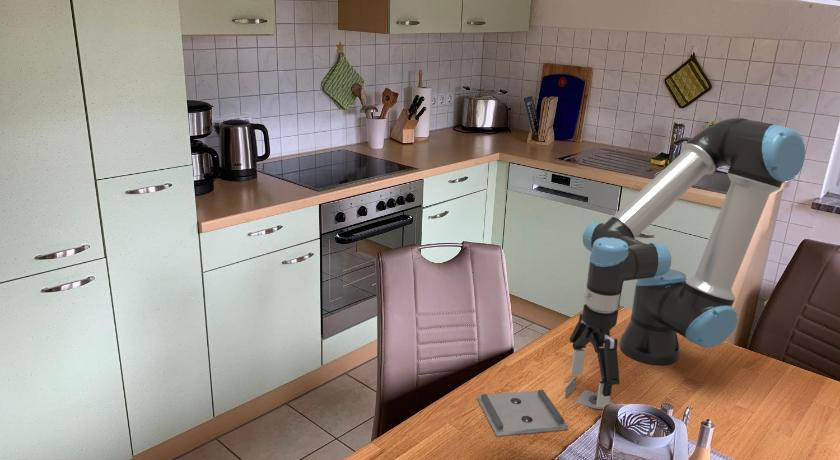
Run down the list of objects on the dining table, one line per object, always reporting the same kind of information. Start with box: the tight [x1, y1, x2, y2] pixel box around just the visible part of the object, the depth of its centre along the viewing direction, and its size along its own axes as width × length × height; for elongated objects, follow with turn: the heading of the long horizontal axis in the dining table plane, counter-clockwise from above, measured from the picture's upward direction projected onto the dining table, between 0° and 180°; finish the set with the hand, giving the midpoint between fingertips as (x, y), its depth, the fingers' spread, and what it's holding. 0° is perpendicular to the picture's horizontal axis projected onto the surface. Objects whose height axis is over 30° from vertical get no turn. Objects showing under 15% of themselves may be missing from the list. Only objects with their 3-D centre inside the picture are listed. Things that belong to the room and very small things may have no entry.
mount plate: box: [477, 389, 569, 437], centre depth 144 cm, size 16×14×2 cm
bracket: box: [564, 375, 612, 410], centre depth 151 cm, size 7×10×4 cm, turn 57°
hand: (588, 389), depth 151 cm, fingers open, 13 cm apart
